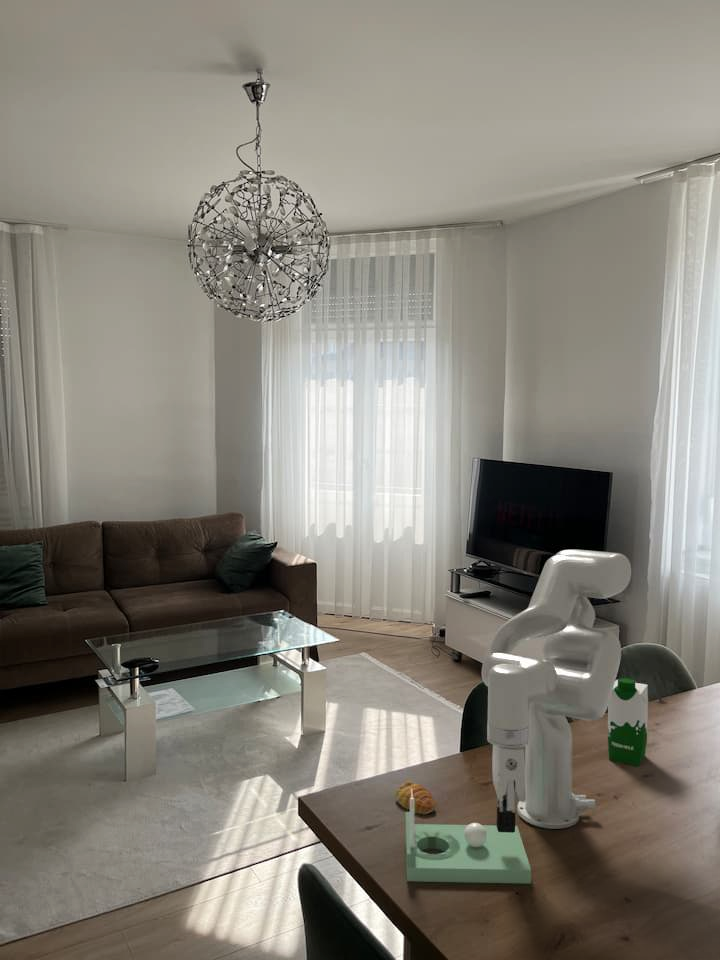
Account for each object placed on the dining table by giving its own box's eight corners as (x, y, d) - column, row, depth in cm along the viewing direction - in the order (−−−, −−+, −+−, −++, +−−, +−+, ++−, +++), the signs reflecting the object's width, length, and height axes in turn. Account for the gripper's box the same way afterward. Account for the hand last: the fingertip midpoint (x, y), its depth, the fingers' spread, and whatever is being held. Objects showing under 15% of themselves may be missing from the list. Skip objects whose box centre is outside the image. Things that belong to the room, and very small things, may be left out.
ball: (485, 840, 144) (485, 818, 143) (488, 852, 139) (488, 830, 139) (463, 839, 144) (463, 818, 144) (465, 851, 140) (465, 830, 139)
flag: (413, 860, 141) (413, 788, 140) (414, 874, 137) (414, 799, 136) (409, 860, 141) (409, 788, 140) (410, 874, 137) (409, 799, 136)
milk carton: (604, 760, 183) (605, 680, 182) (613, 747, 191) (614, 669, 190) (641, 769, 179) (643, 686, 177) (649, 755, 186) (651, 675, 185)
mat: (517, 838, 149) (517, 813, 149) (531, 883, 134) (531, 856, 134) (405, 836, 150) (405, 811, 149) (407, 881, 135) (406, 854, 135)
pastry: (443, 810, 160) (443, 793, 160) (418, 820, 156) (418, 802, 156) (416, 793, 168) (416, 776, 168) (391, 802, 164) (391, 785, 164)
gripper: (535, 749, 132) (533, 852, 133) (521, 719, 147) (519, 811, 148) (492, 748, 132) (490, 850, 133) (482, 718, 147) (480, 810, 148)
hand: (505, 829), depth 140 cm, fingers closed
